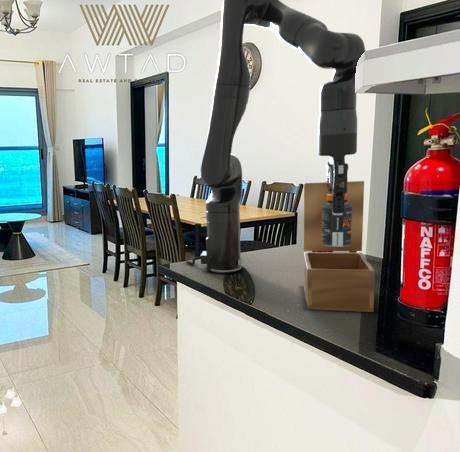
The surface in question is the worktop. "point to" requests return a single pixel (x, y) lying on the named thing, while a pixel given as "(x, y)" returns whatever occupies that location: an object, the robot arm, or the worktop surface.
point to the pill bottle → (336, 224)
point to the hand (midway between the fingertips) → (336, 210)
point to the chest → (338, 281)
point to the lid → (313, 215)
